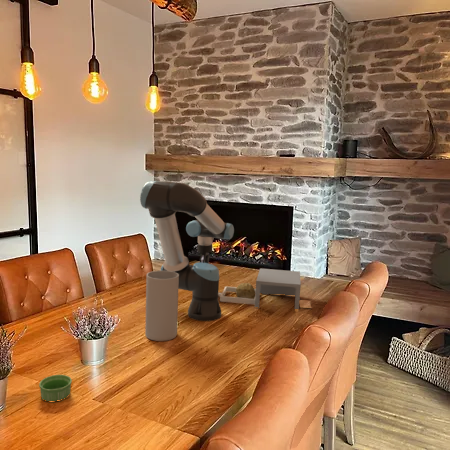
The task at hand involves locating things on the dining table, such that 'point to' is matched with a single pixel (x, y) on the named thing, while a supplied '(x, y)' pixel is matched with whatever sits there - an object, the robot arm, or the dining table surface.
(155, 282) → the cylinder vase
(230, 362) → the dining table surface
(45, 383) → the ramekin
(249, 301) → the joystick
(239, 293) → the rock
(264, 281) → the tunnel
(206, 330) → the dining table surface
